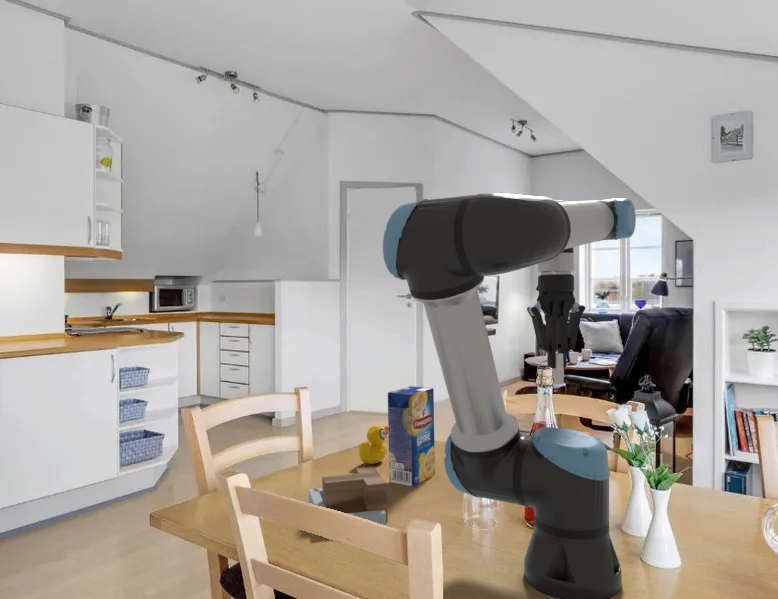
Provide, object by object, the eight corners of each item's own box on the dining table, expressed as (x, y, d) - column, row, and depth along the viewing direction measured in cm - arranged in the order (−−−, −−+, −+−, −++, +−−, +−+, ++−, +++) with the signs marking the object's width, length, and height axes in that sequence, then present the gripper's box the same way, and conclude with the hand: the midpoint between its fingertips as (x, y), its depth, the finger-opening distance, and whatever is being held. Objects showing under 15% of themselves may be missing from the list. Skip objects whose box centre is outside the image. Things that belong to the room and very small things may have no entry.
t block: (387, 522, 123) (386, 483, 123) (329, 529, 120) (328, 489, 120) (373, 502, 134) (373, 466, 134) (320, 508, 131) (319, 471, 131)
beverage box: (435, 474, 154) (433, 388, 153) (413, 486, 144) (411, 394, 144) (411, 470, 157) (410, 386, 157) (389, 482, 148) (387, 392, 148)
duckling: (380, 456, 171) (379, 420, 171) (395, 459, 168) (394, 423, 168) (354, 465, 162) (353, 428, 162) (369, 469, 159) (369, 431, 159)
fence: (386, 528, 120) (385, 513, 120) (320, 536, 116) (320, 520, 116) (365, 496, 138) (365, 483, 138) (308, 502, 135) (308, 489, 135)
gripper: (573, 273, 135) (574, 378, 136) (520, 274, 132) (521, 382, 132) (592, 272, 128) (593, 384, 128) (536, 273, 125) (538, 387, 125)
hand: (557, 383), depth 130 cm, fingers closed
